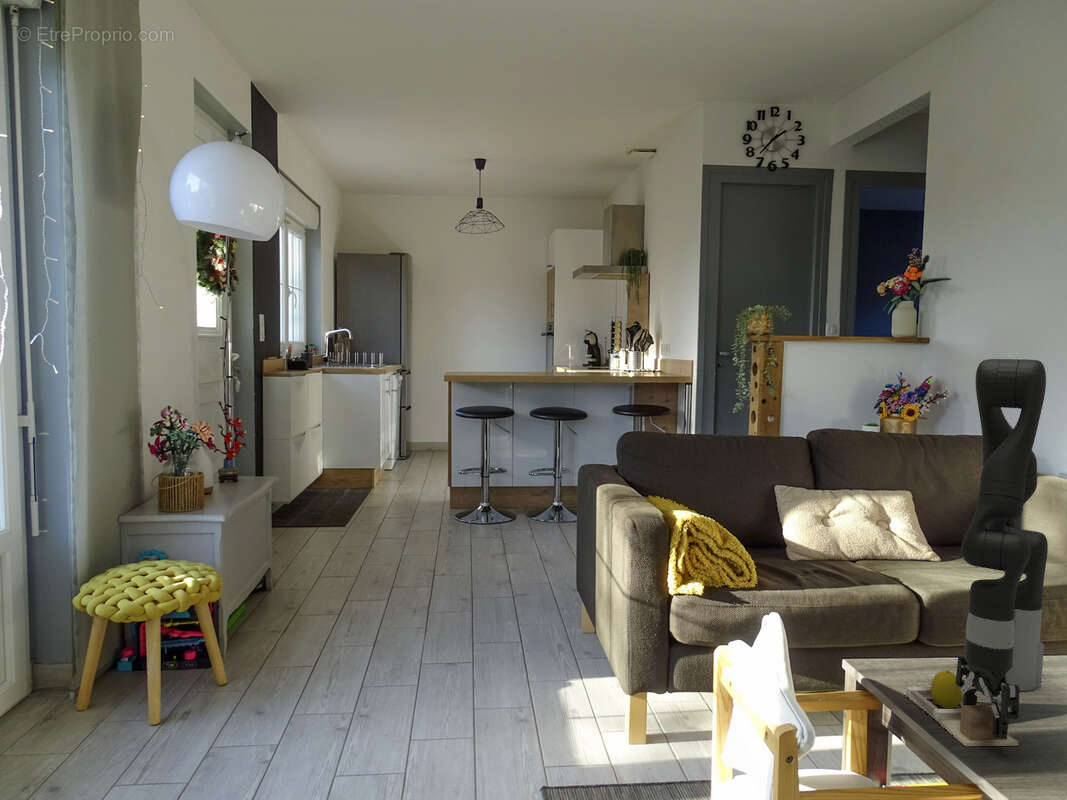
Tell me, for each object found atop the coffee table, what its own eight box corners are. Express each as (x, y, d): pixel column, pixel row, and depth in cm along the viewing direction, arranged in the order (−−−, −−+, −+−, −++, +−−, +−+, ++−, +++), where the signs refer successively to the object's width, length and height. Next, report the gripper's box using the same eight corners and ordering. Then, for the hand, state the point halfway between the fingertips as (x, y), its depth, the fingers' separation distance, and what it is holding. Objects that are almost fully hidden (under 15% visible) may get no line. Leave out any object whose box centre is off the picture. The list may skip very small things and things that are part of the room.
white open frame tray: (953, 696, 159) (954, 669, 158) (1018, 745, 139) (1020, 715, 139) (906, 696, 158) (907, 669, 157) (965, 746, 138) (967, 716, 138)
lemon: (965, 717, 150) (968, 677, 149) (934, 714, 151) (937, 674, 150) (956, 704, 155) (958, 666, 154) (926, 701, 156) (928, 663, 155)
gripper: (1037, 654, 133) (1030, 745, 134) (984, 624, 147) (978, 707, 148) (995, 655, 133) (989, 746, 134) (946, 624, 147) (941, 707, 148)
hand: (983, 725), depth 141 cm, fingers open, 8 cm apart
